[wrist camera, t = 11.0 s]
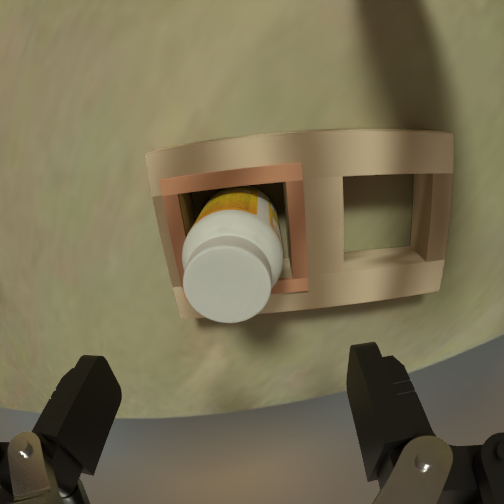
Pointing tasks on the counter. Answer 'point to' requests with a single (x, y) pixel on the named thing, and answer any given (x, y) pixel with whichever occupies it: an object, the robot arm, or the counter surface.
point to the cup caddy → (316, 208)
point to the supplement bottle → (232, 255)
